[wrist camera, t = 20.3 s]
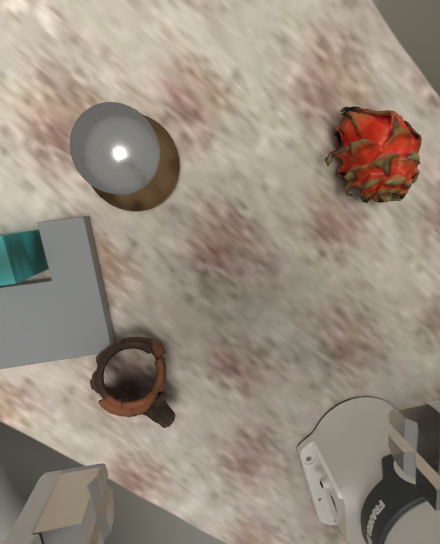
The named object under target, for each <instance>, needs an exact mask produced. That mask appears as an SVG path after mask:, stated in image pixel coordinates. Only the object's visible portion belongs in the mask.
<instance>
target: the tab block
mask: <svg viewBox="0 0 440 544" xmlns="http://www.w3.org/2000/svg"><path fill="white" fill-rule="evenodd" d="M47 269H49V267H48V263H47V259H46V255H45V251H44V247H43V243H42V240H41V236H40V232H39V230H35V231H27V232H19V233H10V234H2V235H0V286H2V285H9V284H16V283H18V282H20V281H23V280H25V279H27V278H29V277H31V276H34V275H36V274H38V273H40V272H42V271H45V270H47Z"/></svg>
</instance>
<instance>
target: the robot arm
mask: <svg viewBox="0 0 440 544" xmlns="http://www.w3.org/2000/svg"><path fill="white" fill-rule="evenodd" d="M297 453H298V456H299V459H300V462H301V466H302V469H303V472H304V476H305V479H306V482H307V486H308V489H309V492H310V495H311V499H312V502H313V505H314V509H315V512H316V515H317V517H318V519H319V520H320V522H321V523H324V524H328V525H334V526H338V527H339V529H340V531H341V533H342V535H343V537H344V539H345V540H346V542H347V543H348V544H440V400H437V401H432V402H427V403H423V404H418V405H413V406H408V407H403V408H398V409H394V407H392V406H391V405H390V404H389V403H387V402H385V401H383V400H381V399H377V398H371V397H362V398H356V399H352V400H349V401H346V402H344V403H342V404H340V405H338V406H336V407H335V408H333V409H332V410H331V411H330V412H328V413H327V414H326V415H325V416H324V418H323V419H322V420H321V421H320V423H319V424H318V426H317V427H316V429H315V431H314V432H313V433H312V434H311V435H310V436H309V437H307V438H306V439H305V440H304V441H303V442H301V443H300V444H299V446H298V448H297ZM107 478H108V472H107V468H106V465H105V464H103V463H102V464H96V465H90V466H83V467H77V468H71V469H65V470H62V471H55V472H48V473H45V474H44V475H43V476H42V477H40V479H39V480H38V482H37V484H36V486H35V488H34V490H33V492H32V493H31V495H30V497H29V499H28V501H27V503H26V505H25V507H24V509H23V510H22V512H21V514H20V516H19V518H18V520H17V521H16V523H15V525H14V527H13V529H12V531H11V533H10V535H9V537H8V539H7V540H5V541H0V544H104V542H103V541H104V540H105V539H106V537H107V536H108V535H109V533H110V532H111V527H112V523H113V514H114V498H113V492H112V488H111V487H109V486H108V485H107V484H106V482H107Z"/></svg>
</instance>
